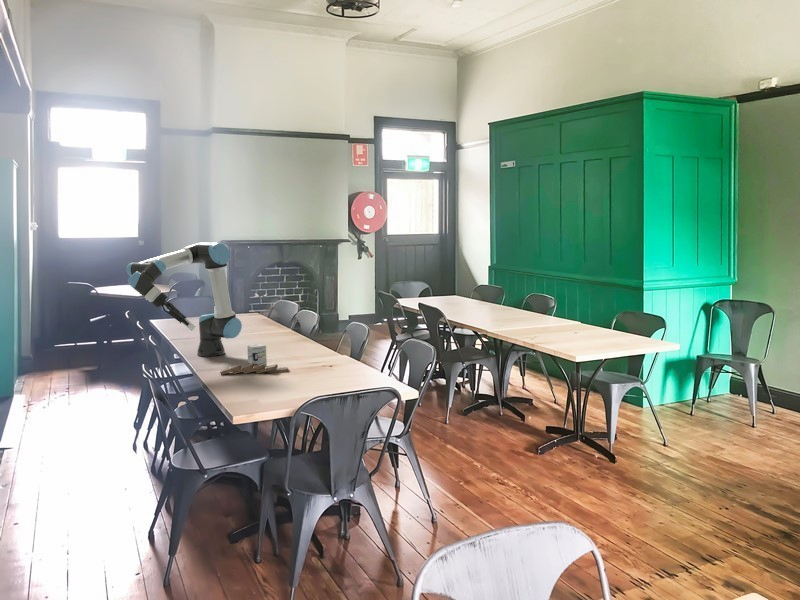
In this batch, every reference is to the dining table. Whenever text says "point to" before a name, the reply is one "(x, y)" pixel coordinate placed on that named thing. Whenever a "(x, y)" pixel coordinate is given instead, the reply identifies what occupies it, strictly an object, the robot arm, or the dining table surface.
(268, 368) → the domino
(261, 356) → the ink box
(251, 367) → the domino
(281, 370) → the domino
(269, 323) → the dining table surface
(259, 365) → the domino
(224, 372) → the head domino
